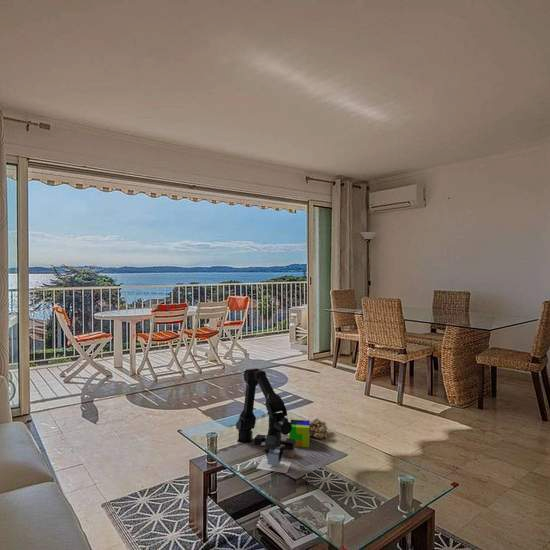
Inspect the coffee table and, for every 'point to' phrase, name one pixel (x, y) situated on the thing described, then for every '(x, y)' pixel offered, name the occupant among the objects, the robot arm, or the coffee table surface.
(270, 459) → the blue cube
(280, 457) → the robot arm
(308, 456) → the coffee table surface
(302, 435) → the puzzle toy
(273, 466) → the letter
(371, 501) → the coffee table surface
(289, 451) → the walnut block
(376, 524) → the coffee table surface
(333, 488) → the coffee table surface
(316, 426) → the mineral formation
